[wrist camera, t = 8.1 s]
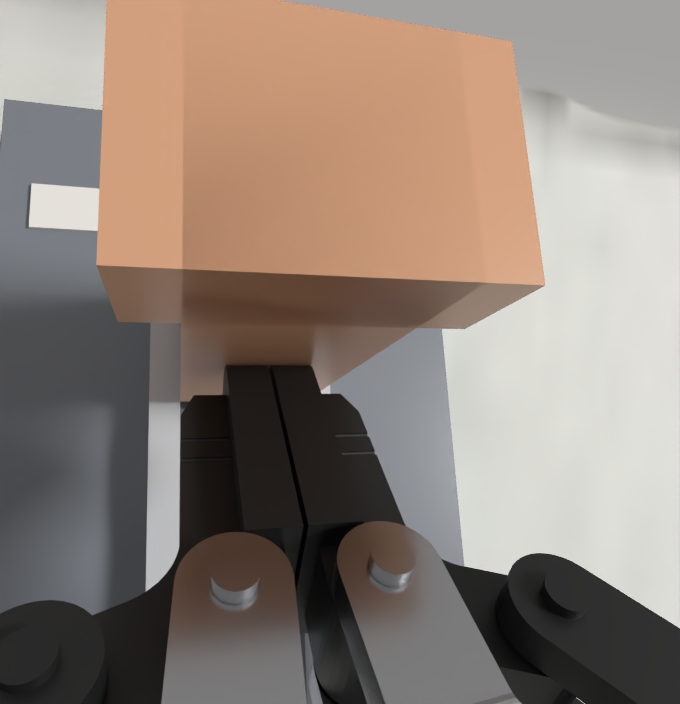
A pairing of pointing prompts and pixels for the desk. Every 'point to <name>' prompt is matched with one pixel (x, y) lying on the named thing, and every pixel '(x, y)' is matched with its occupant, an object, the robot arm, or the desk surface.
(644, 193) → the desk surface
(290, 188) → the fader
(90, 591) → the fader console
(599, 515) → the desk surface
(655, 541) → the desk surface
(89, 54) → the desk surface
